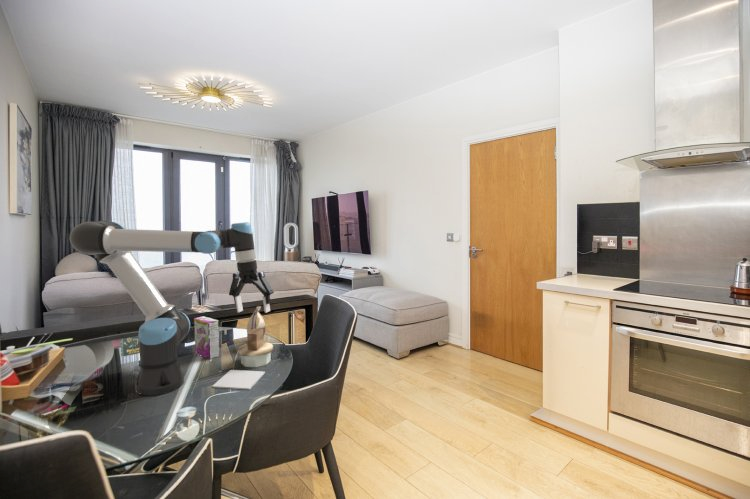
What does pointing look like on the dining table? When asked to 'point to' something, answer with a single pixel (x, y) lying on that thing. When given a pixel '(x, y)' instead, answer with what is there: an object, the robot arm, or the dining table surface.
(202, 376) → the dining table surface
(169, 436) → the dining table surface
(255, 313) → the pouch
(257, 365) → the bowl
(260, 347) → the lid
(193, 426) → the dining table surface
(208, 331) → the candy bar box
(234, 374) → the mat
